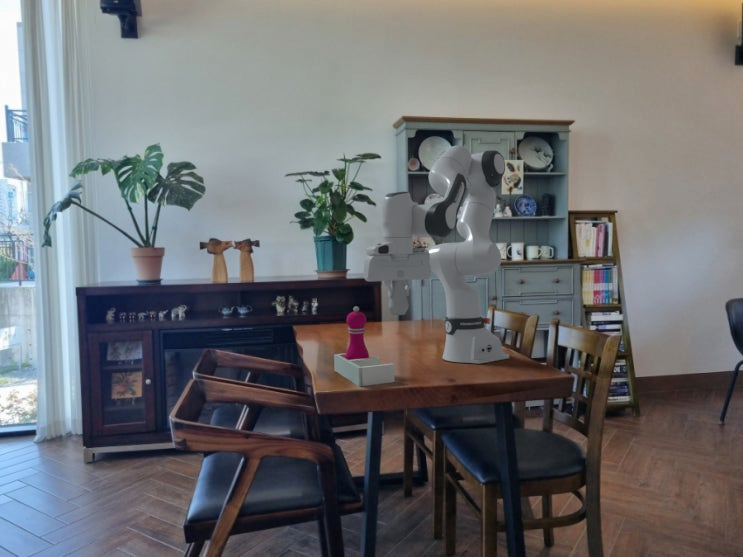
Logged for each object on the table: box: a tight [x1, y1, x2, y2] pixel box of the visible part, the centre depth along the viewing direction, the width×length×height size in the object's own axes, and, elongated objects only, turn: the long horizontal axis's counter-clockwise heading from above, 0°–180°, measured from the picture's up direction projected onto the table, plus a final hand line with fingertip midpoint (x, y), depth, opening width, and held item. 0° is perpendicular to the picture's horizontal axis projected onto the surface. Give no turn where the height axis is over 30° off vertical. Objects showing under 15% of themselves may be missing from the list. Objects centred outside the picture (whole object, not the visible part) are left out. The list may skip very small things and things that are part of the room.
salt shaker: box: [388, 271, 410, 316], centre depth 144 cm, size 6×6×13 cm
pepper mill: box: [345, 306, 370, 360], centre depth 150 cm, size 7×7×20 cm
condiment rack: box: [333, 352, 395, 387], centre depth 146 cm, size 10×21×5 cm, turn 23°
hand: (398, 296), depth 144 cm, fingers closed on salt shaker, 3 cm apart
